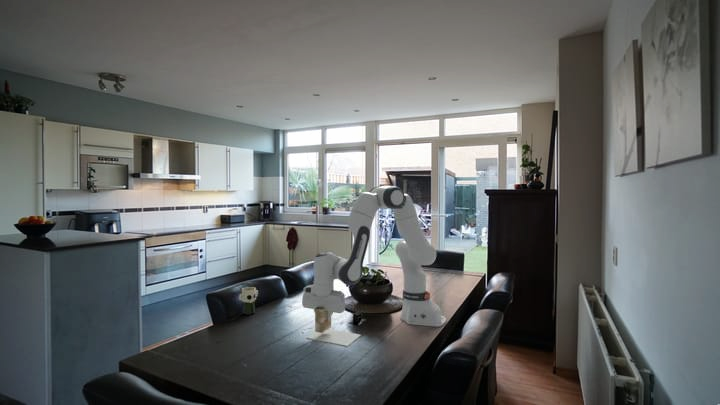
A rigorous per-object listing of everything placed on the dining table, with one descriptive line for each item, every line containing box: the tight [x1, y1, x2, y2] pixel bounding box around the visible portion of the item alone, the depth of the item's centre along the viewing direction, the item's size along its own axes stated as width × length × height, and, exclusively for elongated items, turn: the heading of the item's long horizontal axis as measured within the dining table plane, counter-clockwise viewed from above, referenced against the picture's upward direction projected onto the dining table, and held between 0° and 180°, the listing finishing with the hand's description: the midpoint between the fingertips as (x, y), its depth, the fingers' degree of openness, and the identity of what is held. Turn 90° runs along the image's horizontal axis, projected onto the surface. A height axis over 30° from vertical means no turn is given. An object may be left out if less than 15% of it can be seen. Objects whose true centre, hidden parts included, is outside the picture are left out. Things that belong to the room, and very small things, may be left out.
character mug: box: [238, 286, 259, 315], centre depth 194 cm, size 11×7×13 cm, turn 140°
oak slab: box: [314, 307, 332, 333], centre depth 165 cm, size 4×8×10 cm, turn 155°
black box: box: [347, 311, 367, 326], centre depth 183 cm, size 12×7×5 cm, turn 153°
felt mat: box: [306, 328, 362, 347], centre depth 163 cm, size 20×13×1 cm, turn 65°
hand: (323, 319), depth 165 cm, fingers closed on oak slab, 3 cm apart
